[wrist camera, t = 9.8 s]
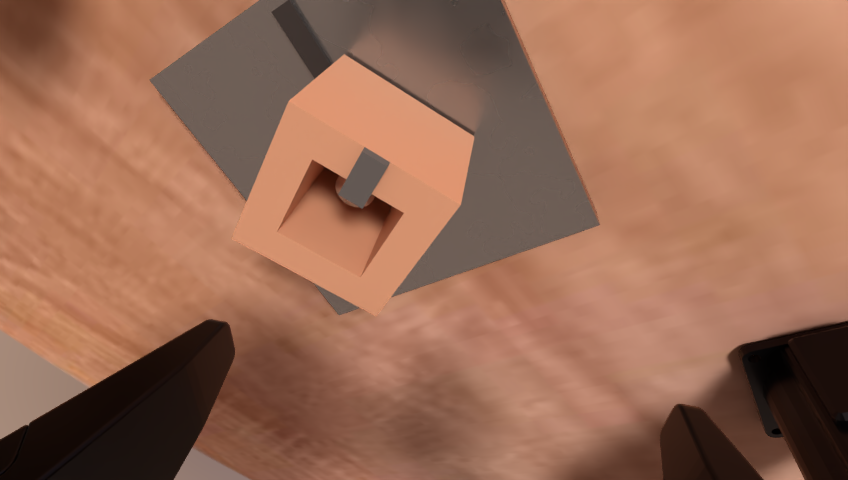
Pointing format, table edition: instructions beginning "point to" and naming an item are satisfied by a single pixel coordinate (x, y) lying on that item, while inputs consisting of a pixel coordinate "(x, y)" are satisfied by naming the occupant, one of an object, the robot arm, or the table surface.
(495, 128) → the grey square base plate
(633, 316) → the table surface
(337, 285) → the hollow block with latch
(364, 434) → the table surface
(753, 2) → the table surface
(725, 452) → the robot arm
